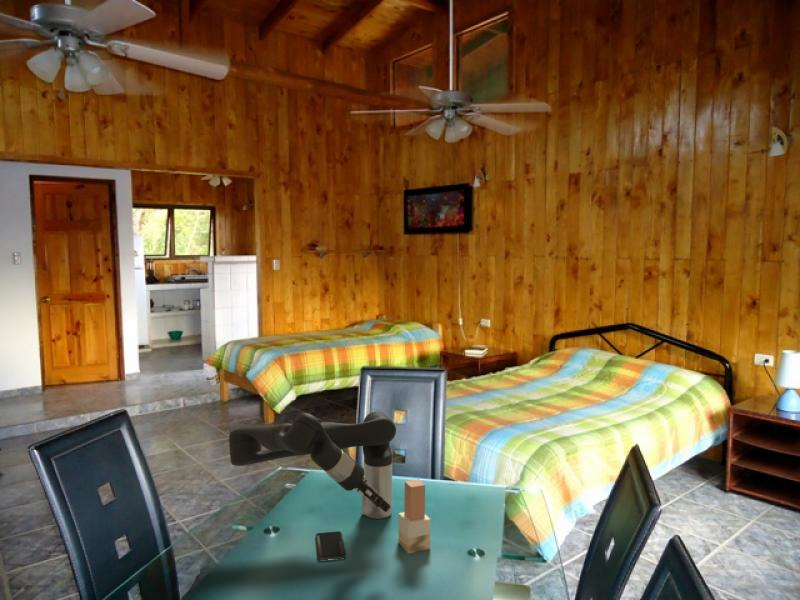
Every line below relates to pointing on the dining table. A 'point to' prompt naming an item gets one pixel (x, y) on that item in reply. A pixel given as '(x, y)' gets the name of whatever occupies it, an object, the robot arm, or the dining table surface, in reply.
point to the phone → (330, 545)
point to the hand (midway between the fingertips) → (381, 502)
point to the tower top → (414, 526)
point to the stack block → (414, 500)
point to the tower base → (413, 542)
